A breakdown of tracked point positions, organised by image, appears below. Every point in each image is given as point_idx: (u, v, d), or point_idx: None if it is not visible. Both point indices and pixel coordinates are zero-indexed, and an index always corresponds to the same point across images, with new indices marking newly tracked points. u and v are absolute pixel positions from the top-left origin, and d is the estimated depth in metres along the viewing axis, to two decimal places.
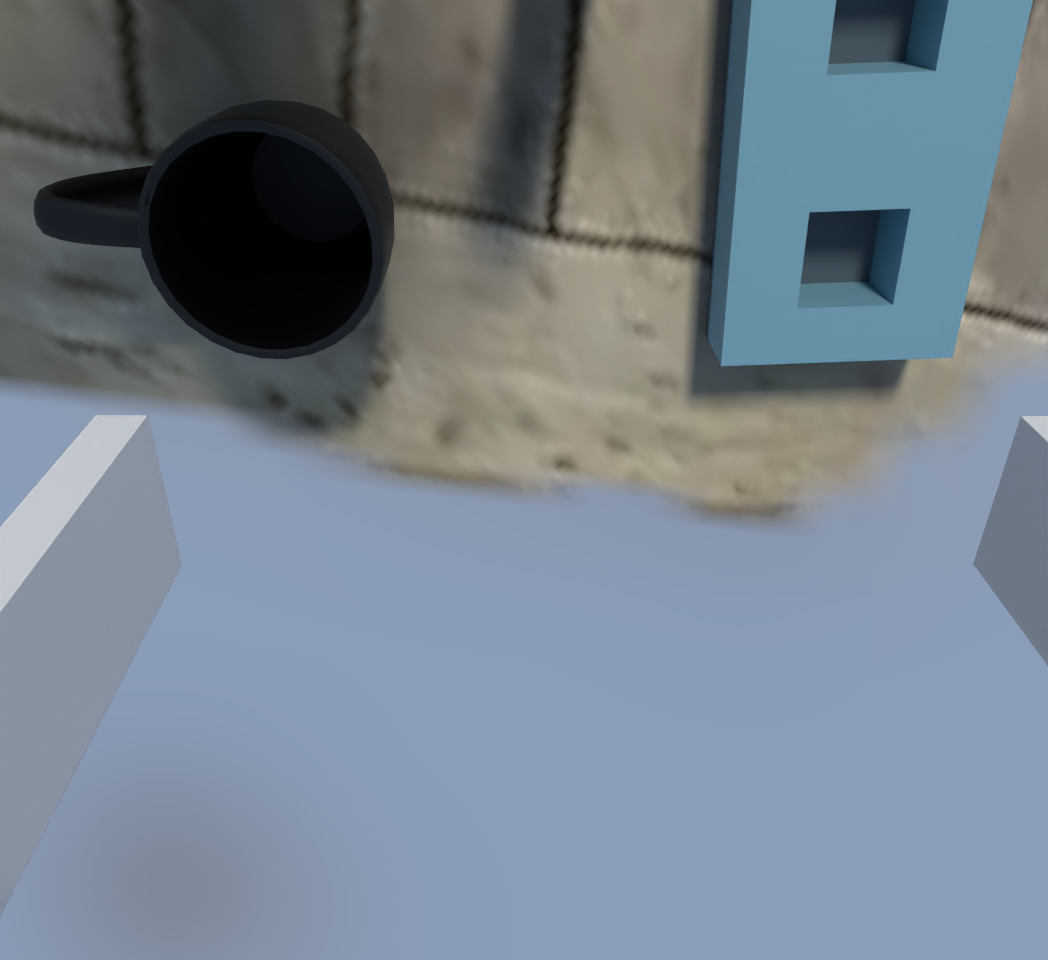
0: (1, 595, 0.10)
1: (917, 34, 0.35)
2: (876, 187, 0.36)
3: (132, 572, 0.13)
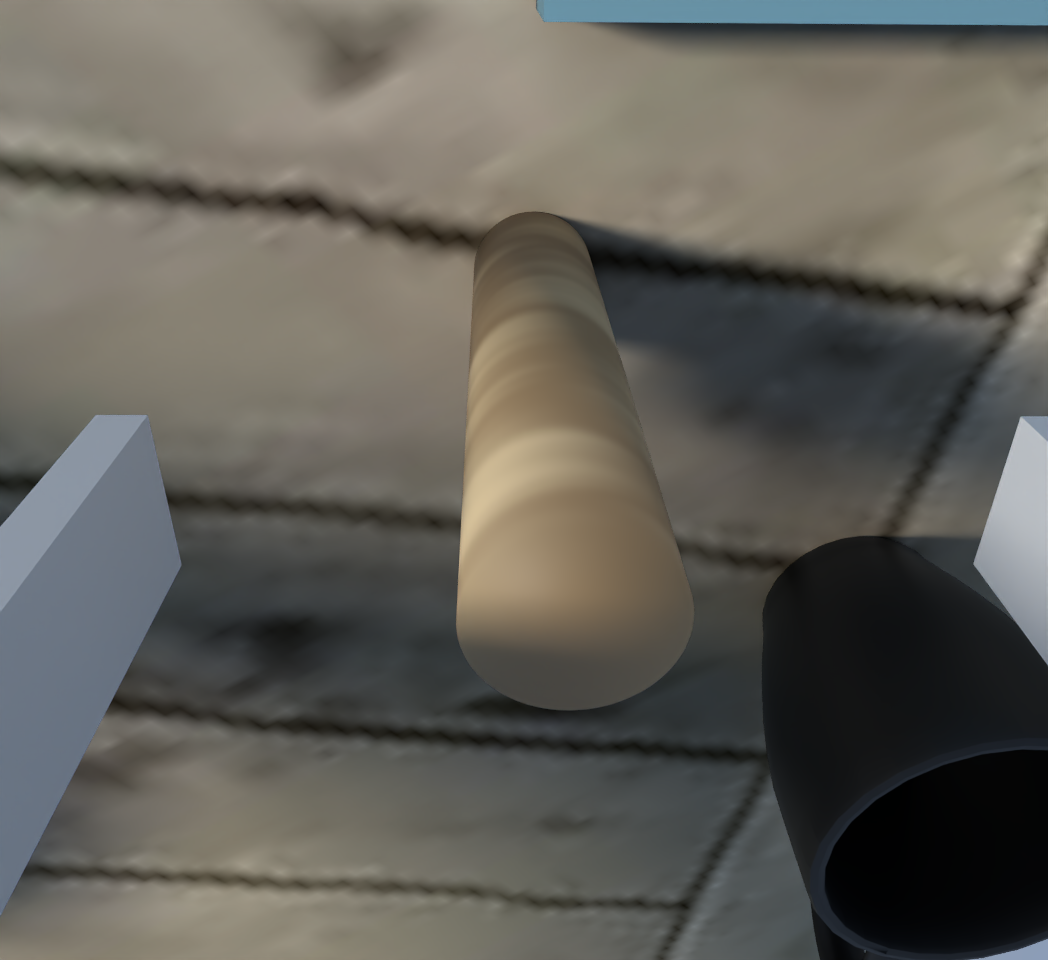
0: (1, 595, 0.10)
1: None
2: None
3: (132, 572, 0.13)
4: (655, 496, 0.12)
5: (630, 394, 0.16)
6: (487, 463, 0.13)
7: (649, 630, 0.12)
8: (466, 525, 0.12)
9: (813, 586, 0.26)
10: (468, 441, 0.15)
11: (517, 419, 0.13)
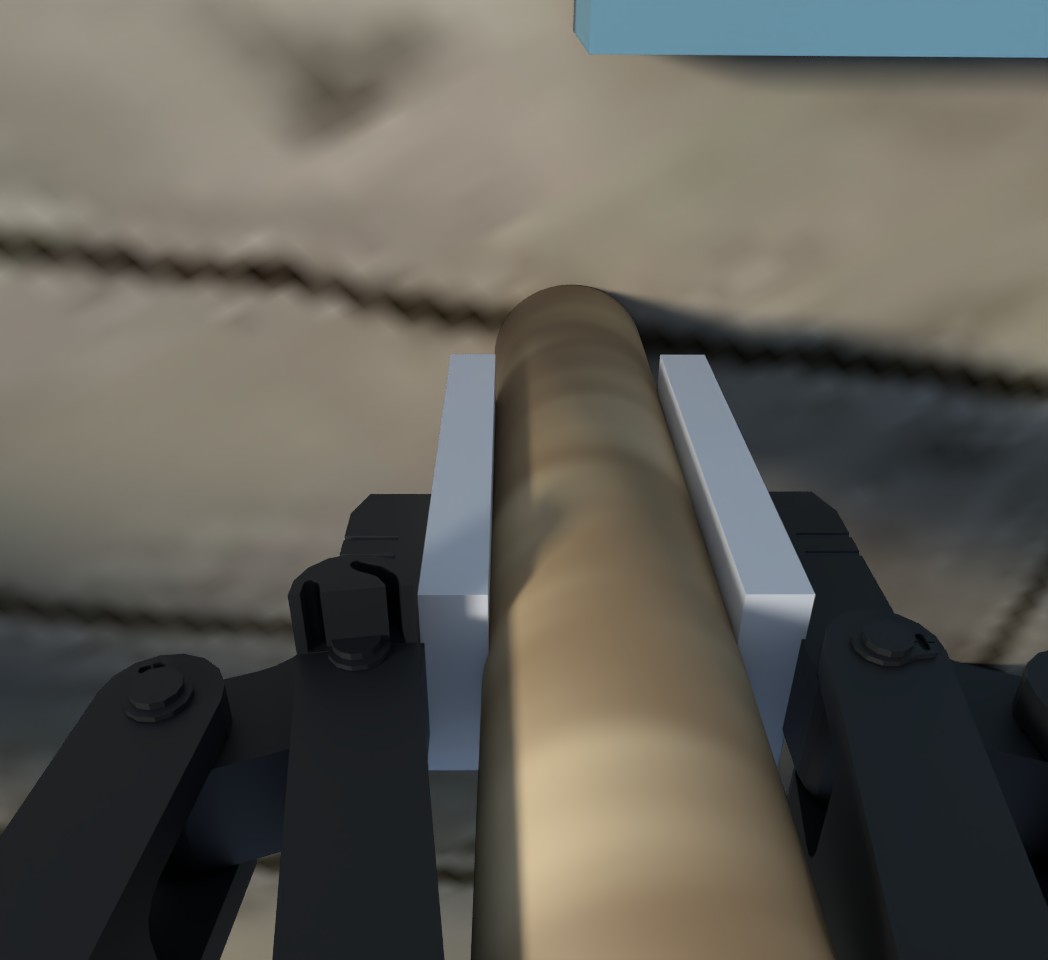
0: (482, 484, 0.12)
1: None
2: None
3: None
4: (794, 855, 0.08)
5: (722, 599, 0.11)
6: (518, 770, 0.08)
7: None
8: (484, 894, 0.08)
9: None
10: (487, 686, 0.10)
11: (563, 687, 0.09)
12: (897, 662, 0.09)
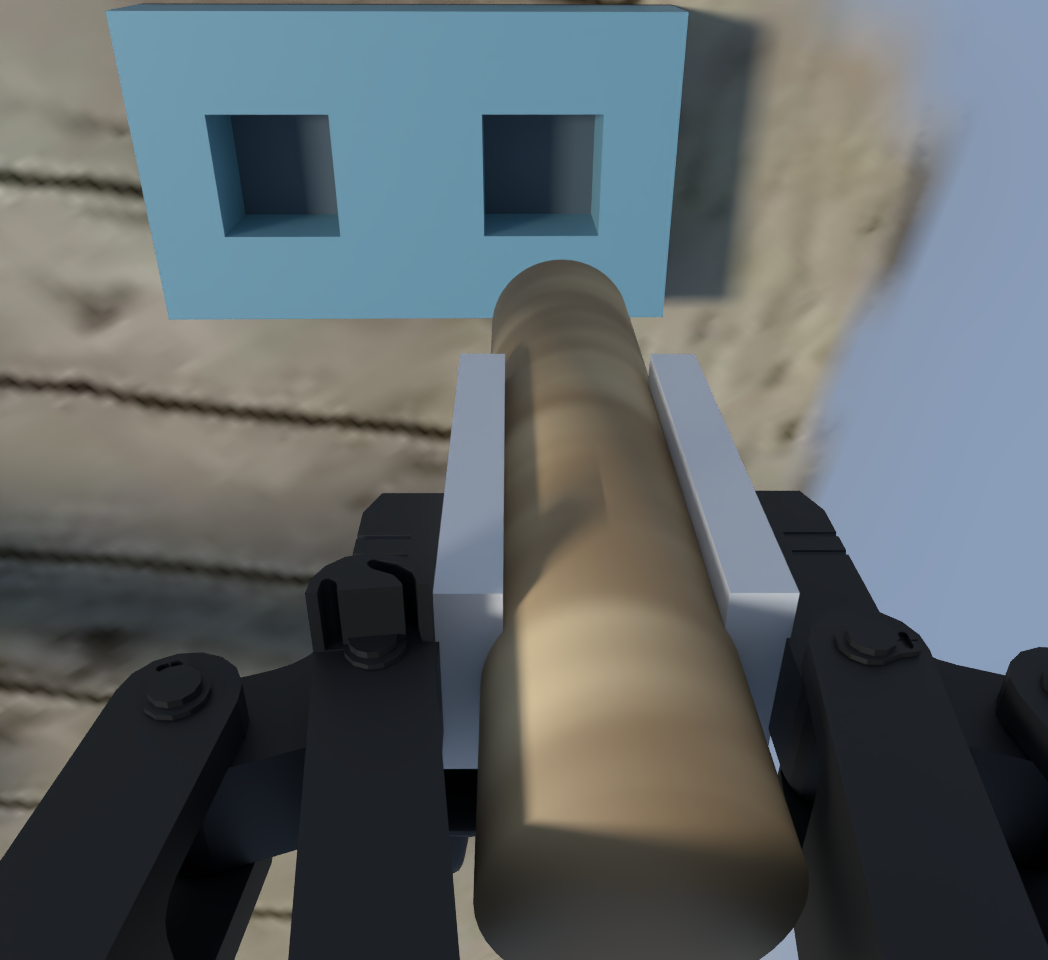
0: (494, 484, 0.12)
1: None
2: (456, 161, 0.31)
3: None
4: (746, 704, 0.09)
5: None
6: (516, 642, 0.10)
7: (743, 910, 0.08)
8: (488, 738, 0.09)
9: None
10: None
11: (555, 577, 0.10)
12: (880, 661, 0.09)
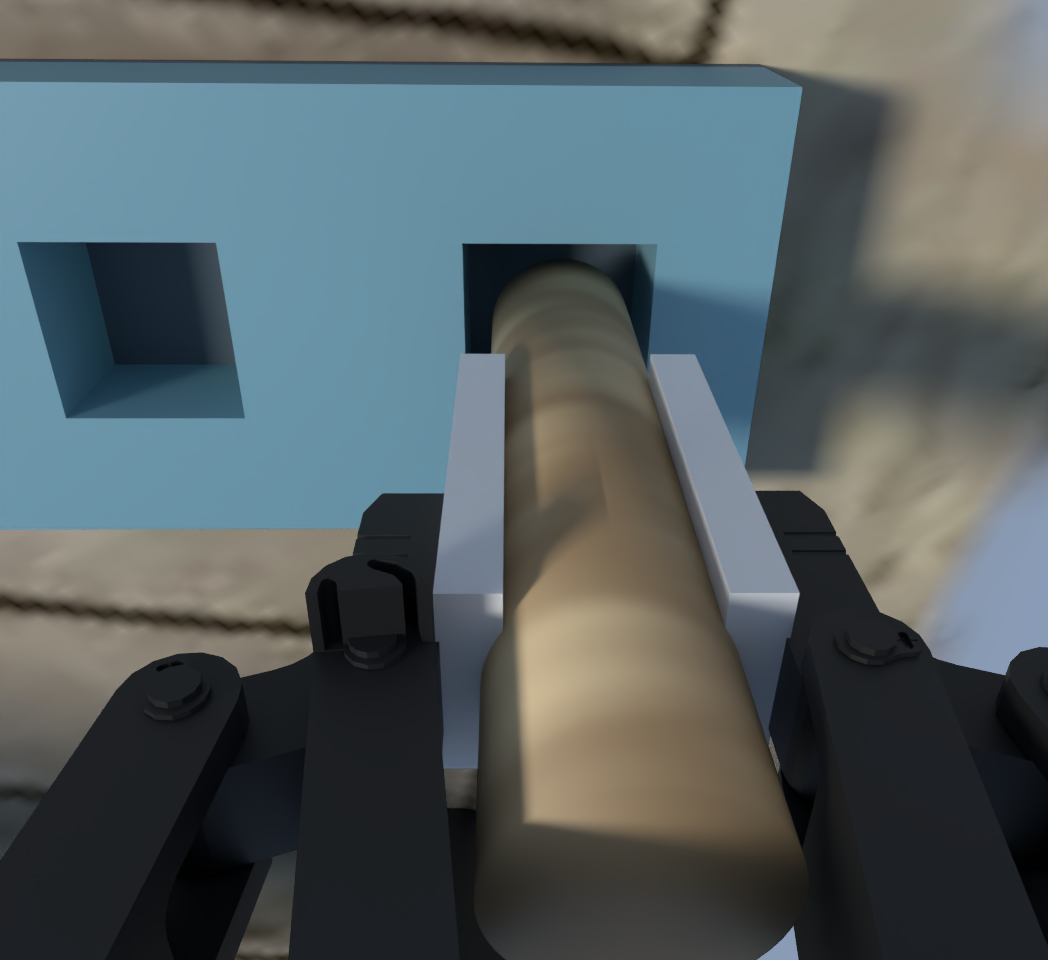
0: (494, 483, 0.12)
1: None
2: (422, 312, 0.19)
3: None
4: (746, 703, 0.09)
5: None
6: (516, 641, 0.10)
7: (742, 908, 0.08)
8: (488, 736, 0.09)
9: None
10: None
11: (555, 576, 0.10)
12: (881, 661, 0.09)
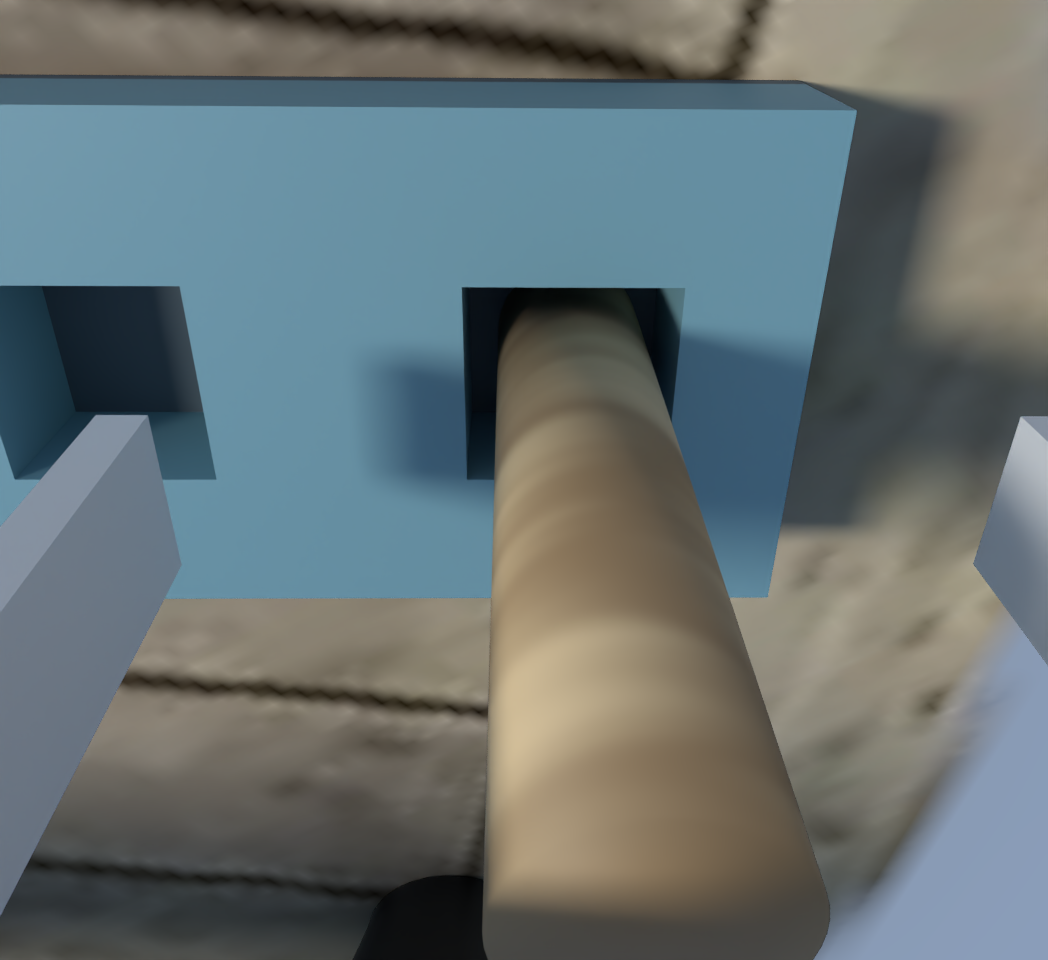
0: (2, 595, 0.10)
1: None
2: (416, 364, 0.17)
3: (132, 572, 0.13)
4: (764, 727, 0.09)
5: (706, 532, 0.12)
6: (525, 661, 0.09)
7: (761, 942, 0.08)
8: (497, 760, 0.09)
9: (375, 940, 0.29)
10: (497, 602, 0.11)
11: (566, 592, 0.10)
12: None
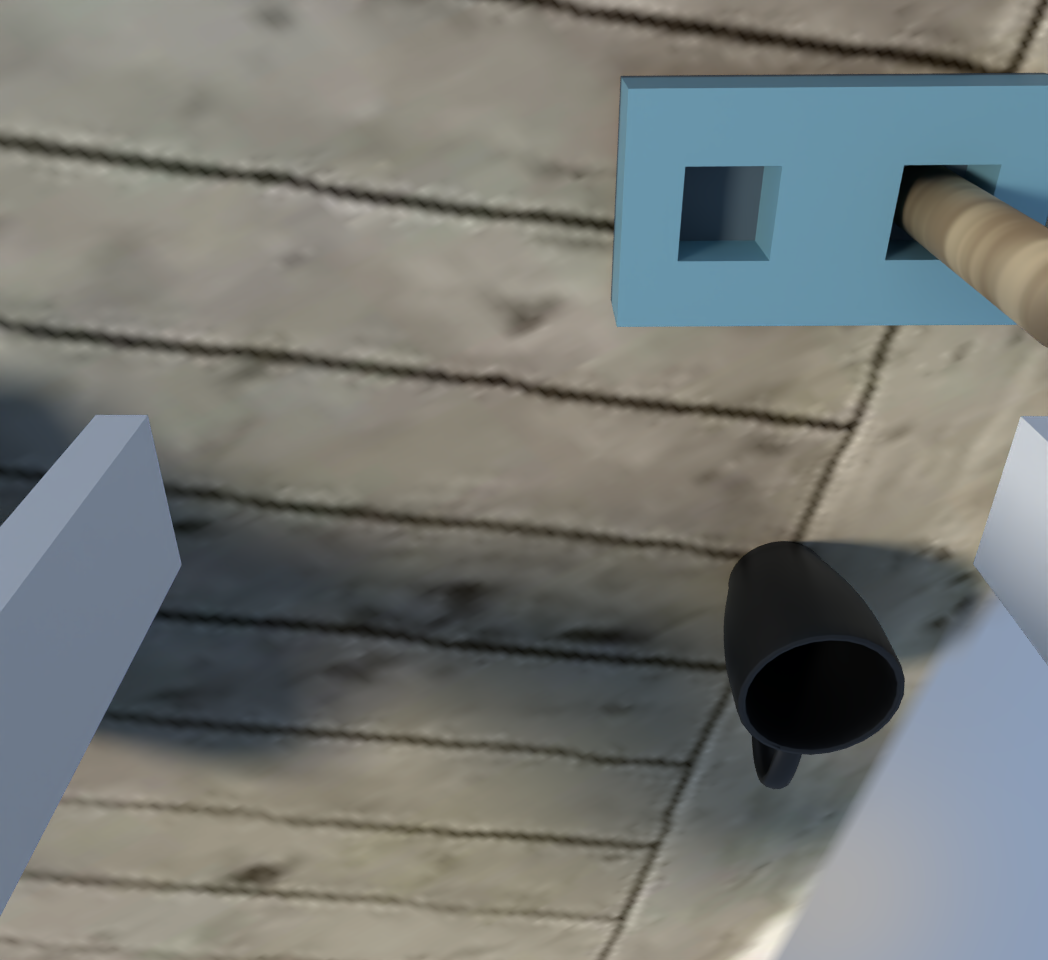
0: (1, 595, 0.10)
1: None
2: (875, 201, 0.38)
3: (132, 572, 0.13)
4: None
5: None
6: (1019, 253, 0.31)
7: None
8: (1019, 275, 0.30)
9: (751, 568, 0.50)
10: (985, 253, 0.32)
11: (1025, 237, 0.31)
12: None
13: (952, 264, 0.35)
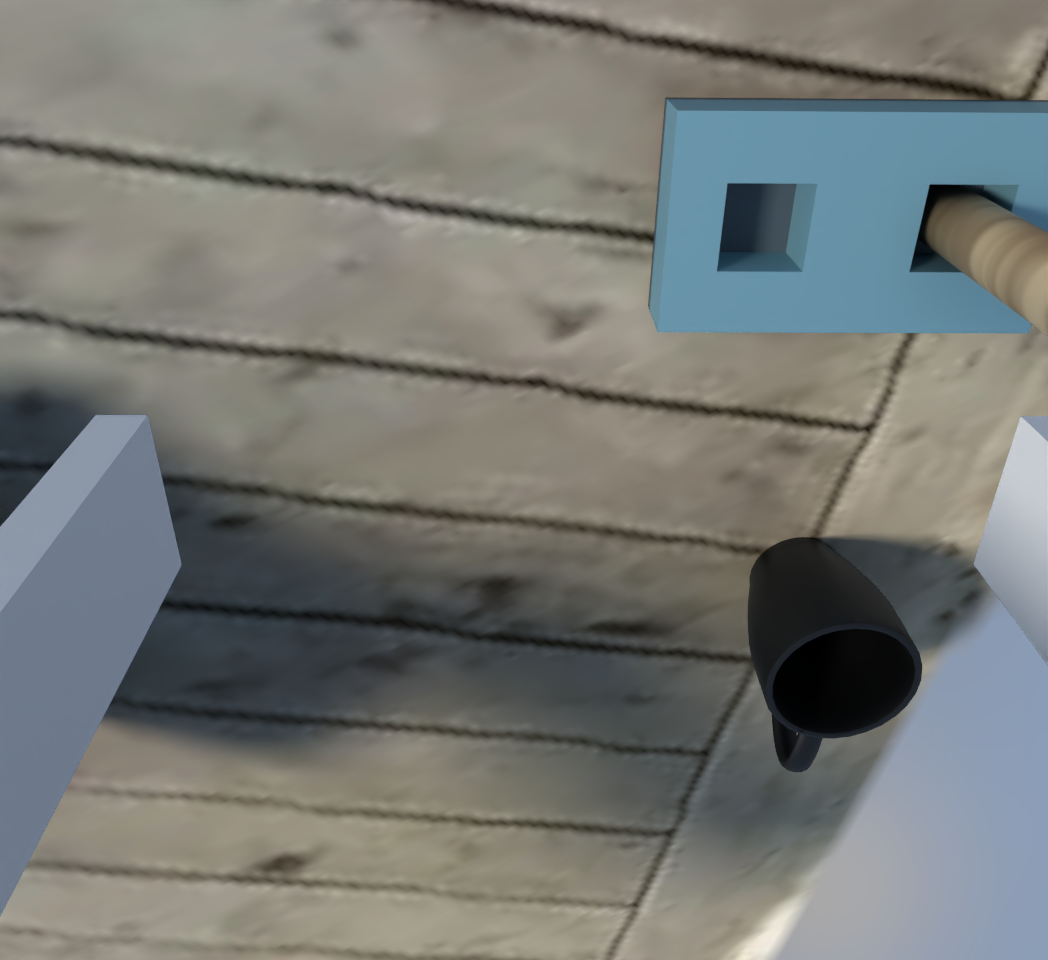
0: (1, 595, 0.10)
1: None
2: (902, 217, 0.41)
3: (132, 572, 0.13)
4: None
5: None
6: (1044, 266, 0.34)
7: None
8: (1045, 287, 0.33)
9: (773, 562, 0.53)
10: (1011, 267, 0.35)
11: None
12: None
13: (977, 276, 0.38)
